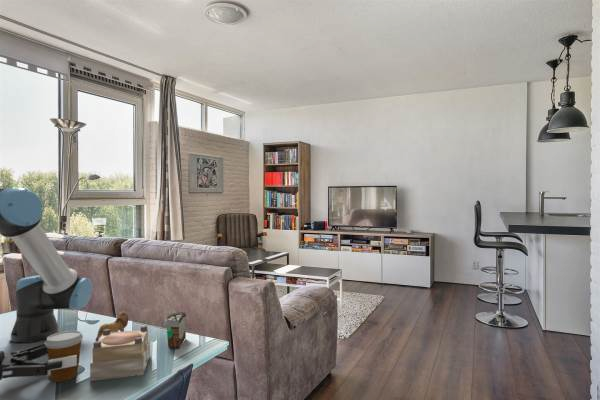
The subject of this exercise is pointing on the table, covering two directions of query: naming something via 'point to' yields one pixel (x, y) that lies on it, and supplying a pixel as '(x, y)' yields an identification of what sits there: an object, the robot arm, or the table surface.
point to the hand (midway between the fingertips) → (77, 351)
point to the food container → (176, 329)
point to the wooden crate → (120, 354)
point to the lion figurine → (114, 325)
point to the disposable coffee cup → (64, 352)
